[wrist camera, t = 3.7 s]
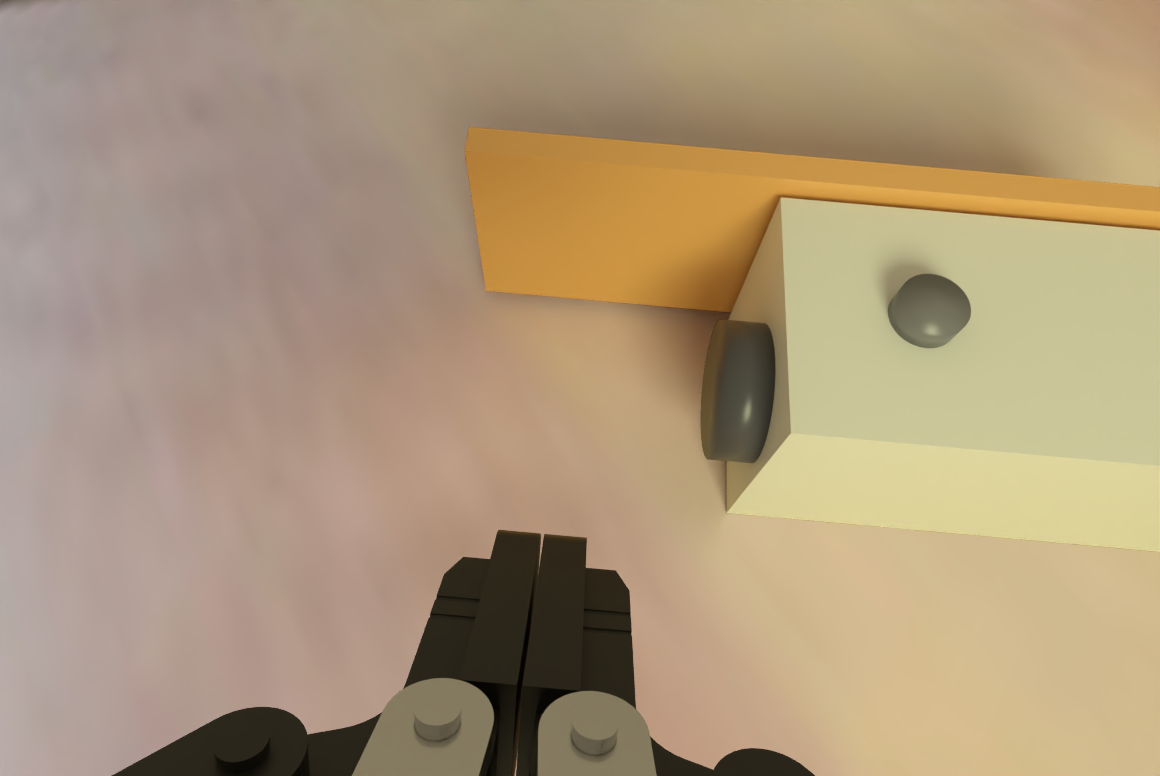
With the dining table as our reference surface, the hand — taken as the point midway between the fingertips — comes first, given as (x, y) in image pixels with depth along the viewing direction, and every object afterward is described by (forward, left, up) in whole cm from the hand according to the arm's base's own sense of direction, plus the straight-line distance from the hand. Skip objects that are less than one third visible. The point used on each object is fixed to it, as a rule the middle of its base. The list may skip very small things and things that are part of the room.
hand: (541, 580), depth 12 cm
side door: (-17, -2, -13) cm, 22 cm away
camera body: (-16, +5, -13) cm, 22 cm away
